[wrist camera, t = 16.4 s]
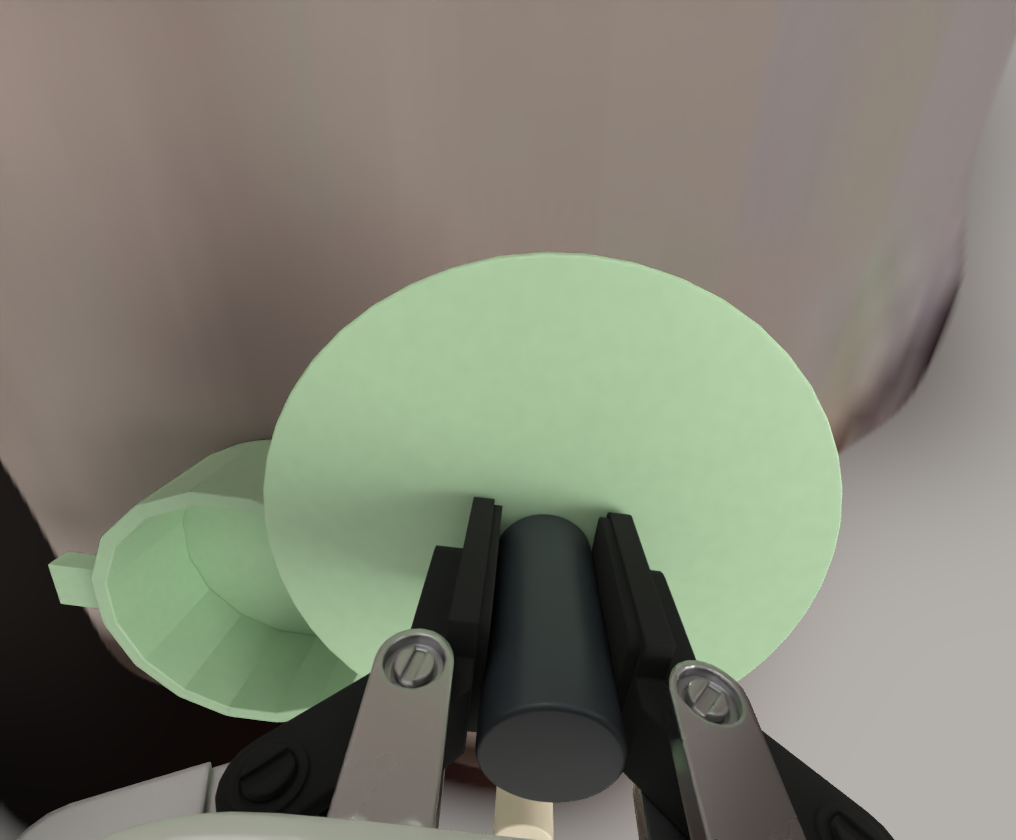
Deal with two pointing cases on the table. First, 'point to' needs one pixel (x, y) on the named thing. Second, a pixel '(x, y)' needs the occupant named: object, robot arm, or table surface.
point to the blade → (522, 817)
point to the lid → (554, 485)
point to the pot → (206, 595)
